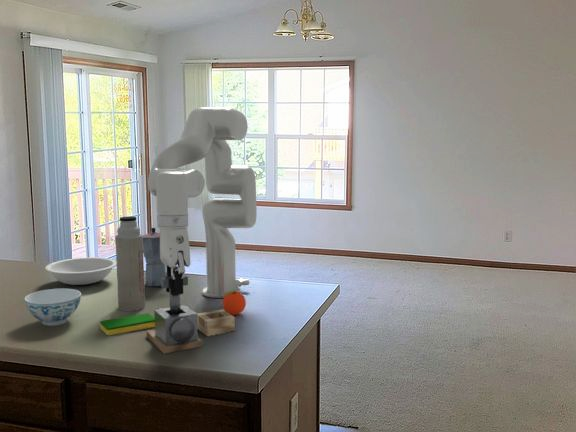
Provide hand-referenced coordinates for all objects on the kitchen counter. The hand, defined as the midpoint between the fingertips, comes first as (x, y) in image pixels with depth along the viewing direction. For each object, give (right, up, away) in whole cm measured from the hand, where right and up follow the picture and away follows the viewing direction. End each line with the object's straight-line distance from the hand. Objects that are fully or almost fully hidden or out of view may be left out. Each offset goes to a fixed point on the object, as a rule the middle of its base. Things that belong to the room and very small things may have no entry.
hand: (174, 292), depth 155 cm
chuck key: (0, -7, +1) cm, 7 cm away
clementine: (+12, -10, +26) cm, 31 cm away
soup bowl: (-44, -5, +62) cm, 76 cm away
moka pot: (-16, -5, +60) cm, 63 cm away
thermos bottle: (-19, -9, +33) cm, 40 cm away
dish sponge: (-15, -12, +15) cm, 25 cm away
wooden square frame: (+9, -12, +13) cm, 20 cm away
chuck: (-2, -12, +5) cm, 13 cm away
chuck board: (-1, -13, +4) cm, 14 cm away
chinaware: (-38, -11, +20) cm, 44 cm away
